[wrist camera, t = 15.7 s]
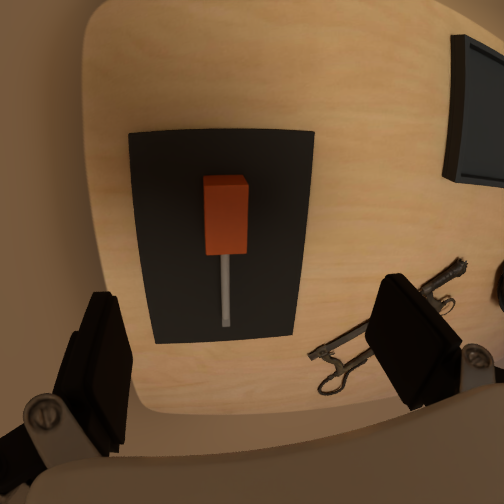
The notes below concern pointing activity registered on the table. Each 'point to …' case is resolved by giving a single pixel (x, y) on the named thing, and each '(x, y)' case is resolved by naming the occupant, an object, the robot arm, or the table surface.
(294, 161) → the mat
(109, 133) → the table surface
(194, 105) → the table surface
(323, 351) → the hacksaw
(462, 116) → the tray
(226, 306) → the screwdriver
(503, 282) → the cable
